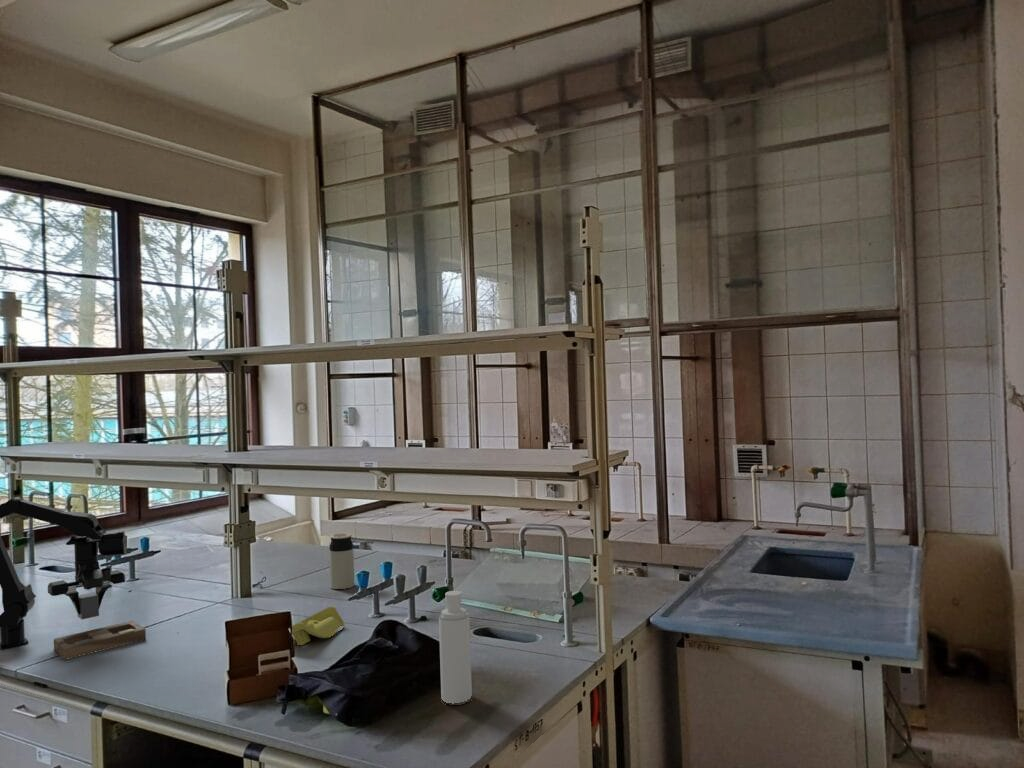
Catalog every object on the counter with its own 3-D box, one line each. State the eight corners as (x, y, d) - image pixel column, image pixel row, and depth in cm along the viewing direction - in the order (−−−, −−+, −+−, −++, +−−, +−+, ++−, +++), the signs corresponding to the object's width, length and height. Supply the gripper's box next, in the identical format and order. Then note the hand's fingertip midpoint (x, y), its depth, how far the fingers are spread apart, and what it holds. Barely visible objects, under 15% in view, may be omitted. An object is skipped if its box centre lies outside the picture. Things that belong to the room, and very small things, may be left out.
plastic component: (307, 617, 214) (336, 603, 213) (317, 641, 213) (346, 627, 211) (273, 636, 194) (304, 620, 193) (284, 662, 193) (315, 646, 192)
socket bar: (54, 649, 200) (53, 637, 200) (133, 630, 214) (132, 619, 214) (64, 660, 192) (63, 647, 192) (145, 639, 206) (145, 627, 206)
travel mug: (333, 591, 248) (331, 538, 248) (328, 585, 256) (327, 534, 255) (356, 588, 252) (354, 535, 251) (351, 582, 259) (350, 531, 259)
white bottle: (464, 690, 165) (460, 579, 165) (477, 701, 159) (473, 586, 159) (436, 697, 162) (433, 584, 162) (448, 708, 156) (445, 591, 156)
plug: (77, 616, 212) (77, 595, 212) (94, 612, 215) (93, 592, 215) (81, 619, 208) (81, 598, 208) (99, 615, 211) (98, 595, 211)
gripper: (56, 569, 199) (58, 626, 199) (130, 556, 212) (132, 610, 212) (46, 563, 207) (48, 618, 207) (118, 550, 220) (120, 602, 220)
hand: (88, 612), depth 212 cm, fingers closed on plug, 4 cm apart
